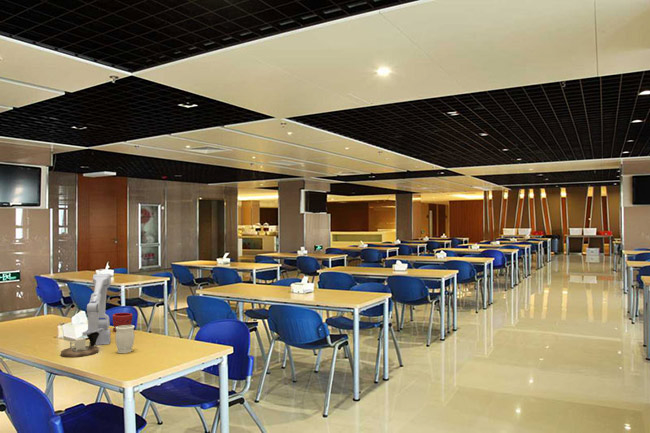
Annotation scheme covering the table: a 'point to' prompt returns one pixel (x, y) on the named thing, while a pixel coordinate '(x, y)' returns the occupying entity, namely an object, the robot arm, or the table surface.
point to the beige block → (79, 344)
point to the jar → (124, 338)
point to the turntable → (79, 351)
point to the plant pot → (121, 319)
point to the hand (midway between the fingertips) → (93, 345)
